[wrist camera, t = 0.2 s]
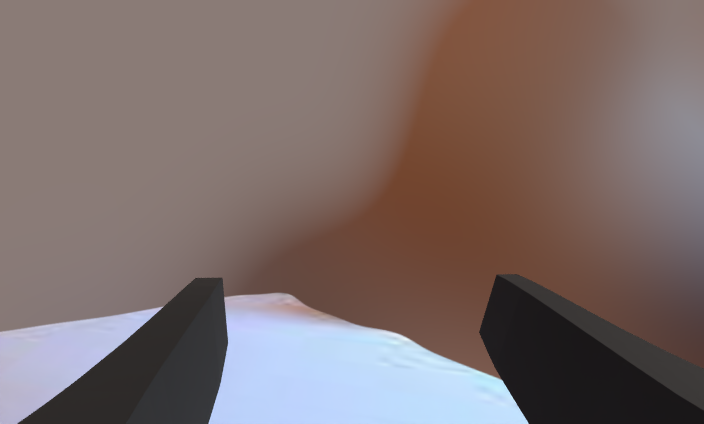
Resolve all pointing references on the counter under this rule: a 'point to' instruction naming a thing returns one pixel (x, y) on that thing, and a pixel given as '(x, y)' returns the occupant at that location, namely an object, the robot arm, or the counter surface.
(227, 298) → the counter surface
